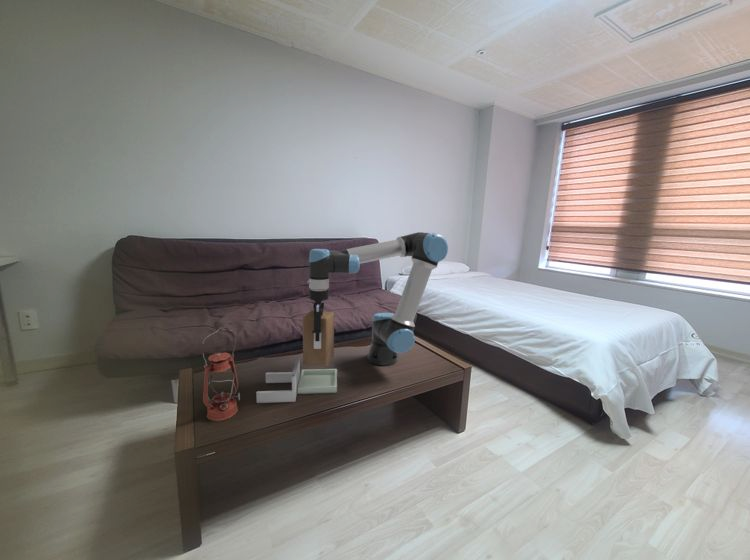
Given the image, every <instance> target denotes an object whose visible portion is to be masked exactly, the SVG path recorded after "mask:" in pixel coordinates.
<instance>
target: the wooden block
mask: <svg viewBox="0 0 750 560" xmlns="http://www.w3.org/2000/svg"><path fill="white" fill-rule="evenodd" d="M316 330H319V329H316ZM312 331H314V309H312V310H311V311H309V312H308V313H306V314H305V315H303V317H302V364H303V365H304V366H314V367H321V368H325V367H327V366H328V365H329V364H330V363H331V361H332V360H333V358H334V357H335V312H333V311H327V310H323V315H322V316H321V349H314V333H312Z"/></svg>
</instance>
